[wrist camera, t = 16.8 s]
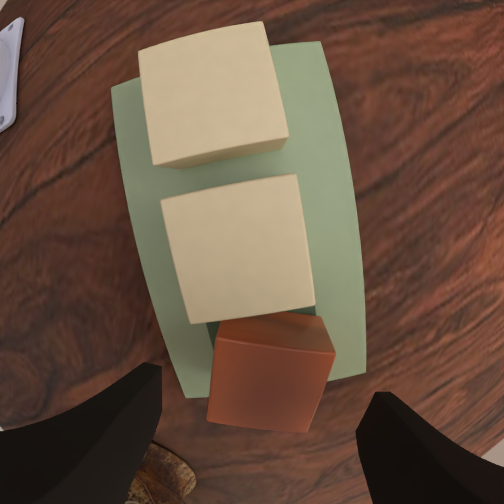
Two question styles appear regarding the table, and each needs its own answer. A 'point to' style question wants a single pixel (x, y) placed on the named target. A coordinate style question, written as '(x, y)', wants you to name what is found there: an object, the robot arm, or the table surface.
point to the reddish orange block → (269, 371)
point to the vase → (161, 479)
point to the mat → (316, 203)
